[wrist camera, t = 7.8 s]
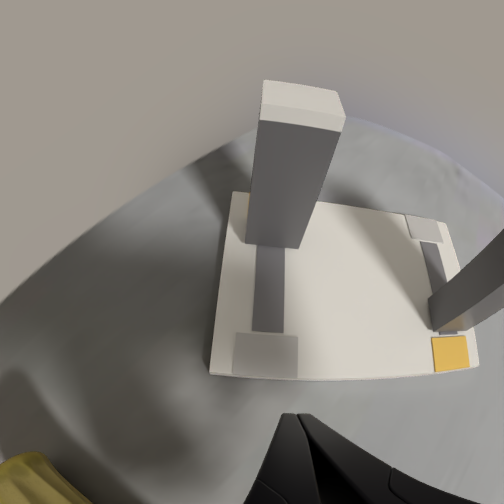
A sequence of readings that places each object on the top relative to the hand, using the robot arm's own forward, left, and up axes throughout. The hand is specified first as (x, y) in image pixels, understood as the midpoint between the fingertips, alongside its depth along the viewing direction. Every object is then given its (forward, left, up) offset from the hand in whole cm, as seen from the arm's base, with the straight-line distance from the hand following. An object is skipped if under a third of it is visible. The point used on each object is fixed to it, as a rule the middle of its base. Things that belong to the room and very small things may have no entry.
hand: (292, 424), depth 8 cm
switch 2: (-6, -13, -7) cm, 16 cm away
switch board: (+1, -11, -8) cm, 14 cm away
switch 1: (+8, -9, -7) cm, 14 cm away
